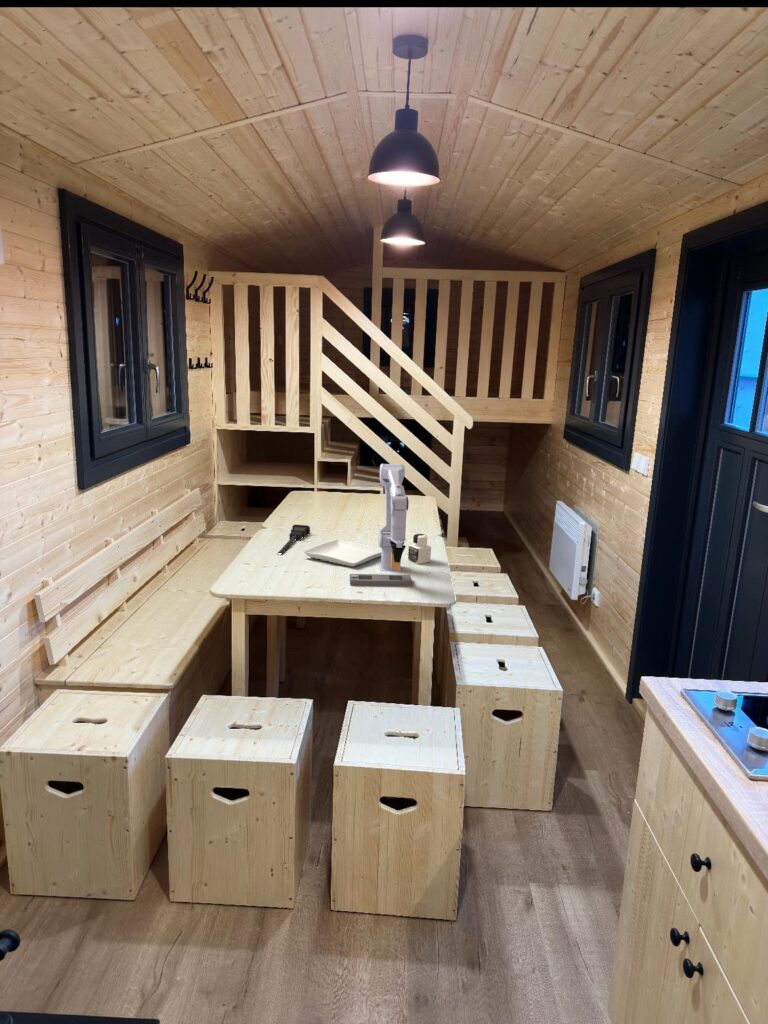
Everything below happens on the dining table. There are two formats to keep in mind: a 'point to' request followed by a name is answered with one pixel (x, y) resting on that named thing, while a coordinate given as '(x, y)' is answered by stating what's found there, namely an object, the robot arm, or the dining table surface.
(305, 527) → the electrical plug
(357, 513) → the dining table surface
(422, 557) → the medicine bottle
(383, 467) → the robot arm
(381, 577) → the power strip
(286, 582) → the dining table surface
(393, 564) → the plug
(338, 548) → the square plate
